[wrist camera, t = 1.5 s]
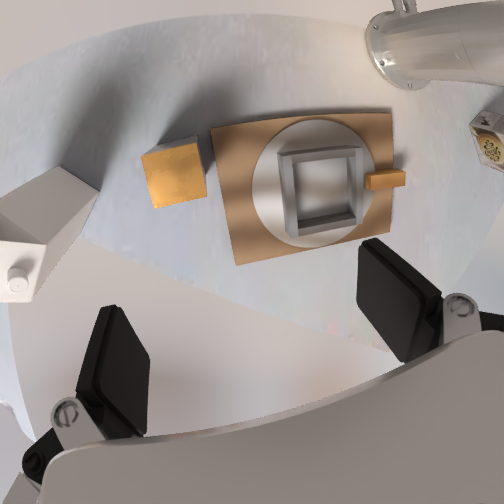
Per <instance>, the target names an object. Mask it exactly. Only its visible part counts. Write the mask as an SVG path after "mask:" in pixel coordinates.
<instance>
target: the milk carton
mask: <svg viewBox="0 0 504 504" xmlns="http://www.w3.org/2000/svg"><path fill="white" fill-rule="evenodd" d="M98 195H99V191H97V190H95V189H94V188H92V187H91V186H89V185H88V184H86V183H84V182H83V181H81V180H80V179H78V178H77V177H75V176H74V175H72V174H70V173H69V172H67V171H66V170H64V169H63V168H61V167H60V166H57V167H55V168H53V169H51V170H49V171H47V172H45V173H44V174H42V175H40V176H38V177H36V178H34V179H32V180H30V181H29V182H27V183H25V184H23V185H22V186H20V187H18V188H16V189H15V190H13V191H11V192H10V193H8V194H6V195H5V196H3V197H2V198H0V302H31V301H32V300H33V298H34V297H35V295H36V294H37V292H38V291H39V289H40V288H41V286H42V285H43V283H44V282H45V280H46V279H47V278H48V276H49V275H50V273H51V271H52V270H53V269H54V268H55V266H56V265H57V263H58V262H59V261H60V259H61V258H62V257H63V255H64V254H65V253H66V252H67V250H68V249H69V248H70V246H71V245H72V244H73V243H74V241H75V240H76V239H77V238H78V236H79V235H80V233H81V231H82V229H83V226H84V224H85V222H86V220H87V218H88V215H89V213H90V211H91V209H92V207H93V205H94V203H95V201H96V199H97V197H98Z"/></svg>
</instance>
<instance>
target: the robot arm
mask: <svg viewBox="0 0 504 504" xmlns="http://www.w3.org/2000/svg"><path fill="white" fill-rule="evenodd" d="M392 2H393V5H394V8H395V10H394V11H387V12H383V13H380V14H378V15H376V16H375V17H373V18H372V19H371V21H370V22H369V24H368V26H367V31H366V44H367V49H368V52H369V55H370V58H371V60H372V62H373V64H374V65H375V67H376V68H377V70H378V71H379V73H380V74H381V75H382V76H383V77H384V78H385V79H386V80H387V81H388V82H390V83H391V84H393V85H394V86H396V87H398V88H401V89H405V90H418V89H421V88H423V87H425V86H426V85H427V84H428V83H429V82H430V80H441V81H458V82H470V83H479V84H487V85H494V86H501V87H504V0H496V1H488V2H479V3H471V4H464V5H456V6H451V7H445V8H440V9H435V10H430V11H426V12H421V13H419V12H417V9H416V2H415V0H403V3H404V5H405V8H406V11H404V10H403V7H402V2H401V0H392ZM441 294H442V292H441V291H440V290H439V289H438V288H436V287H435V286H434V285H433V284H432V283H431V282H430V281H429V280H427V279H426V278H425V277H424V276H423V275H422V274H421V273H419V272H418V271H417V270H416V269H415V268H413V267H412V266H411V265H410V264H409V263H407V262H406V261H405V260H404V259H403V258H401V257H400V256H399V255H398V254H397V253H395V252H394V251H393V250H392V249H390V248H389V247H388V246H387V245H385V244H384V243H383V242H382V241H380V240H379V239H378V238H372V239H368V240H365V241H363V242H362V244H361V246H359V249H358V277H357V296H356V301H357V305H358V307H359V308H360V310H361V311H362V312H363V313H364V315H365V316H366V317H367V319H368V320H369V321H370V323H371V324H372V325H373V326H374V328H375V329H376V330H377V332H378V333H379V334H380V336H381V337H382V338H383V340H384V341H385V342H386V344H387V345H388V346H389V348H390V349H391V350H392V352H393V353H394V354H395V356H396V357H397V359H398V360H399V361H400V362H404V363H405V364H404V365H402V366H400V367H398V368H396V369H394V370H392V371H390V372H388V373H385V374H383V375H381V376H379V377H376V378H374V379H372V380H370V381H367V382H365V383H363V384H360V385H358V386H355V387H353V388H350V389H348V390H345V391H343V392H340V393H337V394H334V395H332V396H329V397H326V398H323V399H321V400H318V401H315V402H312V403H309V404H306V405H303V406H300V407H296V408H293V409H290V410H287V411H283V412H279V413H276V414H272V415H268V416H264V417H261V418H257V419H253V420H249V421H244V422H240V423H236V424H231V425H225V426H220V427H215V428H209V429H204V430H198V431H191V432H185V433H176V434H168V435H159V436H150V437H143V434H146V432H147V405H148V385H149V370H150V359H149V355H148V353H147V352H146V350H145V348H144V347H143V345H142V343H141V342H140V340H139V338H138V337H137V335H136V334H135V332H134V330H133V328H132V326H131V324H130V323H129V321H128V319H127V317H126V316H125V314H124V311H123V310H122V308H121V307H117V306H116V305H110V306H105V307H102V308H101V309H100V311H99V314H98V317H97V320H96V323H95V325H94V328H93V332H92V335H91V338H90V341H89V344H88V347H87V350H86V354H85V357H84V361H83V364H82V368H81V371H80V375H79V379H78V382H77V386H76V392H77V393H76V397H75V398H74V397H67V398H63V399H62V400H60V401H59V402H58V403H57V404H56V405H55V406H54V408H53V410H52V413H51V423H52V426H53V427H52V428H51V429H50V430H49V431H48V432H47V433H46V434H45V435H44V436H43V437H41V438H40V439H39V440H38V441H37V442H36V443H35V444H33V445H32V446H31V447H30V448H29V449H28V450H27V451H26V452H25V454H24V456H23V460H22V468H23V471H24V473H21V472H20V473H19V475H18V476H17V478H16V480H15V481H14V483H13V485H12V487H11V489H10V490H9V492H8V494H7V496H6V497H5V499H4V502H3V504H504V315H498V314H492V313H487V312H481V311H479V310H478V306H477V304H476V302H475V301H474V300H473V299H472V298H471V297H469V296H467V295H465V294H461V293H453V294H449V295H448V296H446V297H445V299H443V298H442V297H441Z"/></svg>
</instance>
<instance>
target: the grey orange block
mask: <svg viewBox="0 0 504 504" xmlns="http://www.w3.org/2000/svg"><path fill="white" fill-rule="evenodd" d="M141 159H142V163H143V167H144V171H145V175H146V179H147V183H148V187H149V191H150V195H151V198H152V202H153V206H154V209H155V208H159V207H164V206H168V205H172V204H176V203H181V202H185V201H189V200H194V199H199V198H203V197H207V188H206V175H205V170H204V165H203V160H202V155H201V150H200V144H199V139H198V135H197V136H192V137H188V138H183V139H179V140H175V141H170V142H166V143H162V144H158V145H156V146H154V147H153V148H152V149H150V150H149V151H148V152H146V153H145V154H144V155H142V156H141Z"/></svg>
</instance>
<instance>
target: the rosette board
mask: <svg viewBox="0 0 504 504" xmlns="http://www.w3.org/2000/svg"><path fill="white" fill-rule="evenodd" d="M210 133H211V138H212V144H213V149H214V155H215V160H216V166H217V171H218V176H219V182H220V187H221V192H222V198H223V203H224V208H225V213H226V218H227V223H228V229H229V234H230V239H231V244H232V249H233V254H234V259H235V263H236V266H237V265H242V264H247V263H251V262H256V261H261V260H265V259H270V258H275V257H279V256H284V255H289V254H293V253H298V252H302V251H307V250H311V249H316V248H320V247H325V246H329V245H334V244H338V243H343V242H347V241H352V240H356V239H361V238H365V237H370V236H374V235H378V234H383V233H387V232H390V224H391V210H392V190H393V187H399V186H405V174H406V172H404V171H402V170H399V169H393V132H392V114H390V113H340V114H320V115H306V116H295V117H284V118H275V119H267V120H259V121H252V122H246V123H239V124H233V125H227V126H221V127H216V128H211V129H210Z"/></svg>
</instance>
